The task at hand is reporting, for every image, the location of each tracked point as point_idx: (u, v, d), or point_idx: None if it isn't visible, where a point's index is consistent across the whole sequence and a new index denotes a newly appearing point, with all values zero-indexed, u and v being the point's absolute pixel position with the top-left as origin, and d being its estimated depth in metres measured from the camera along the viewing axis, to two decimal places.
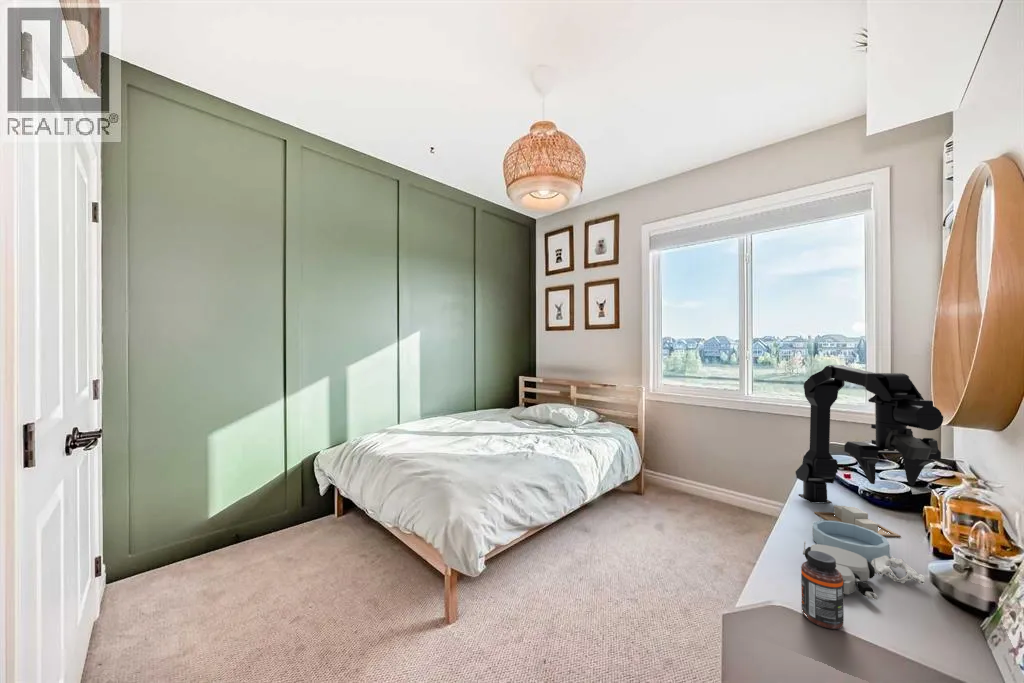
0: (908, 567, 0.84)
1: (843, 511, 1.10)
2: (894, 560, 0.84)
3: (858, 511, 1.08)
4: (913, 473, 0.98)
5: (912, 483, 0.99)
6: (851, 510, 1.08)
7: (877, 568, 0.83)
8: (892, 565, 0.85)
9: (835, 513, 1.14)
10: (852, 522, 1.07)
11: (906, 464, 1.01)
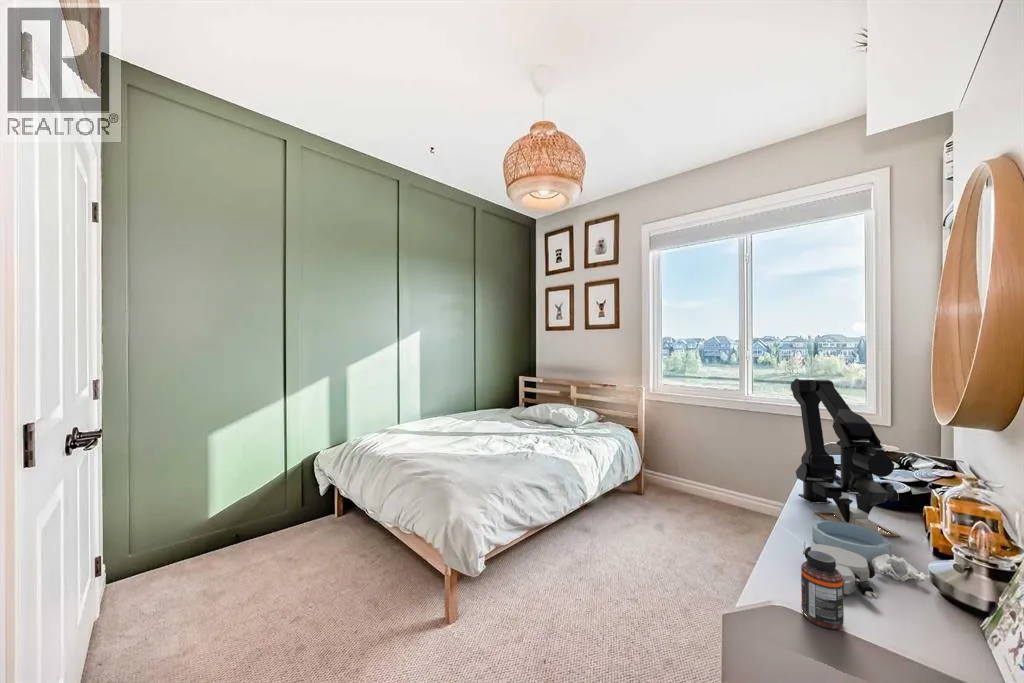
0: (909, 565, 0.85)
1: None
2: (895, 558, 0.84)
3: (858, 511, 1.08)
4: None
5: None
6: (851, 510, 1.08)
7: (878, 566, 0.84)
8: (893, 563, 0.86)
9: (835, 513, 1.14)
10: (852, 522, 1.07)
11: (858, 503, 1.10)
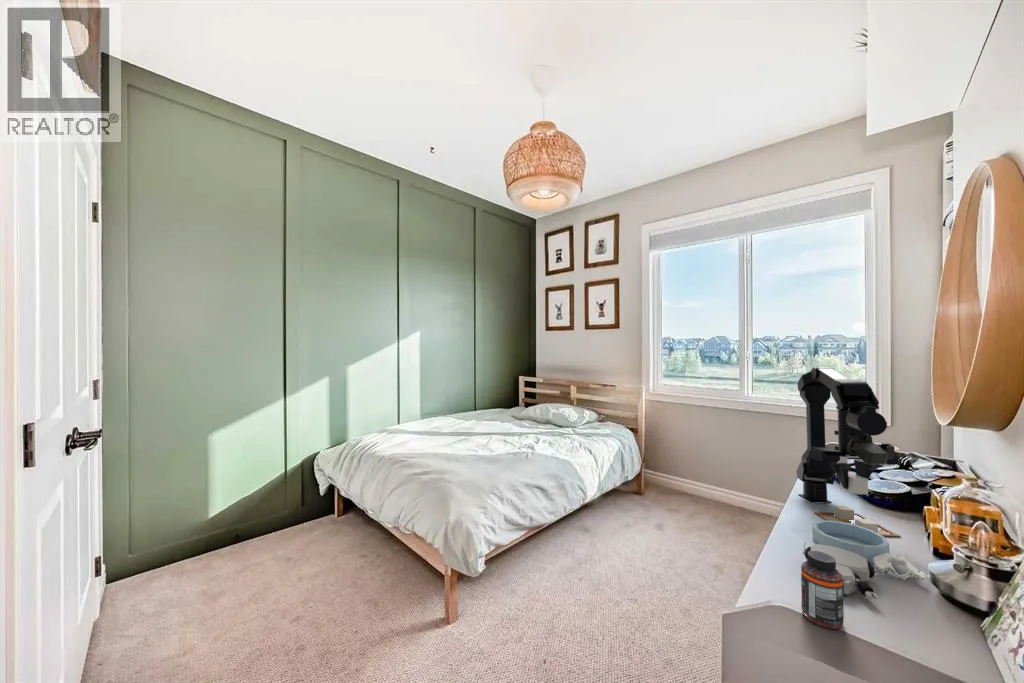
0: (909, 564, 0.85)
1: None
2: (895, 557, 0.85)
3: (857, 476, 1.02)
4: None
5: None
6: (850, 476, 1.02)
7: (878, 565, 0.85)
8: (893, 562, 0.86)
9: (835, 513, 1.14)
10: (851, 488, 1.01)
11: (857, 469, 1.04)
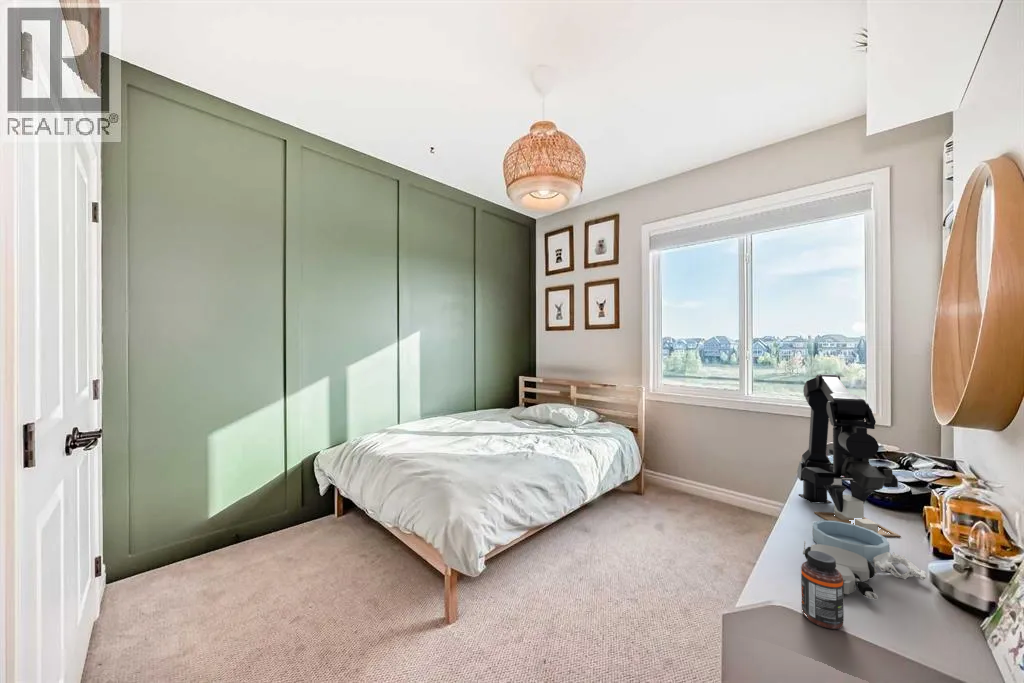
0: (910, 563, 0.86)
1: None
2: (896, 556, 0.85)
3: (853, 499, 0.96)
4: None
5: None
6: (845, 498, 0.96)
7: (879, 564, 0.85)
8: (894, 561, 0.86)
9: (835, 513, 1.14)
10: (846, 511, 0.95)
11: (853, 490, 0.98)
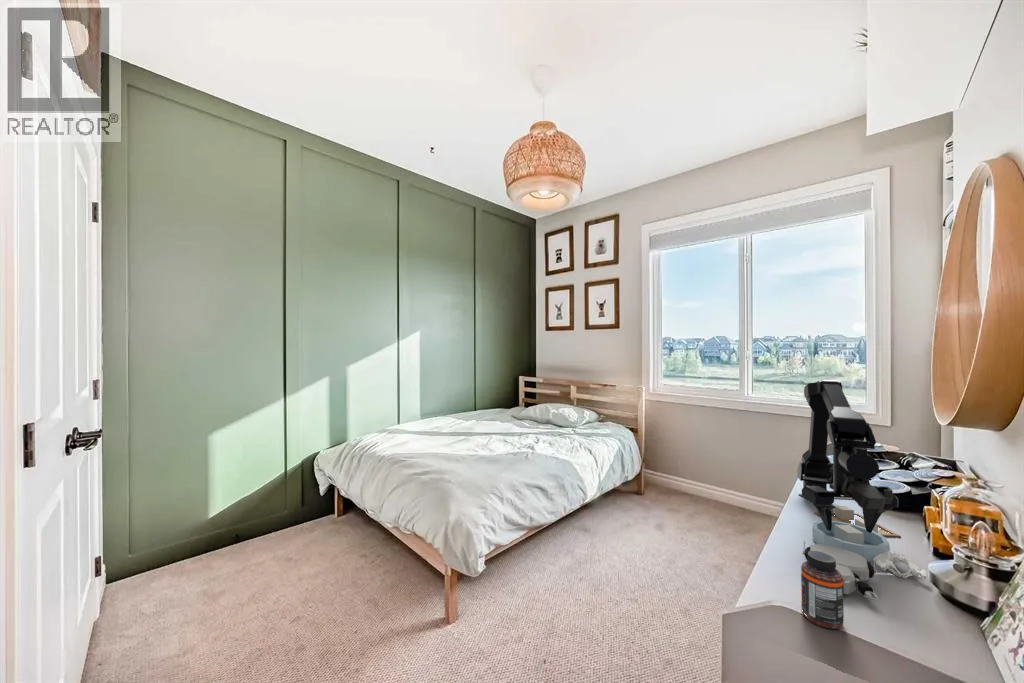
0: (911, 563, 0.86)
1: (836, 530, 0.98)
2: (897, 556, 0.85)
3: (853, 530, 0.96)
4: (871, 520, 0.96)
5: (870, 530, 0.96)
6: (845, 529, 0.96)
7: (880, 563, 0.85)
8: (895, 561, 0.87)
9: (835, 513, 1.14)
10: None
11: (864, 510, 0.98)
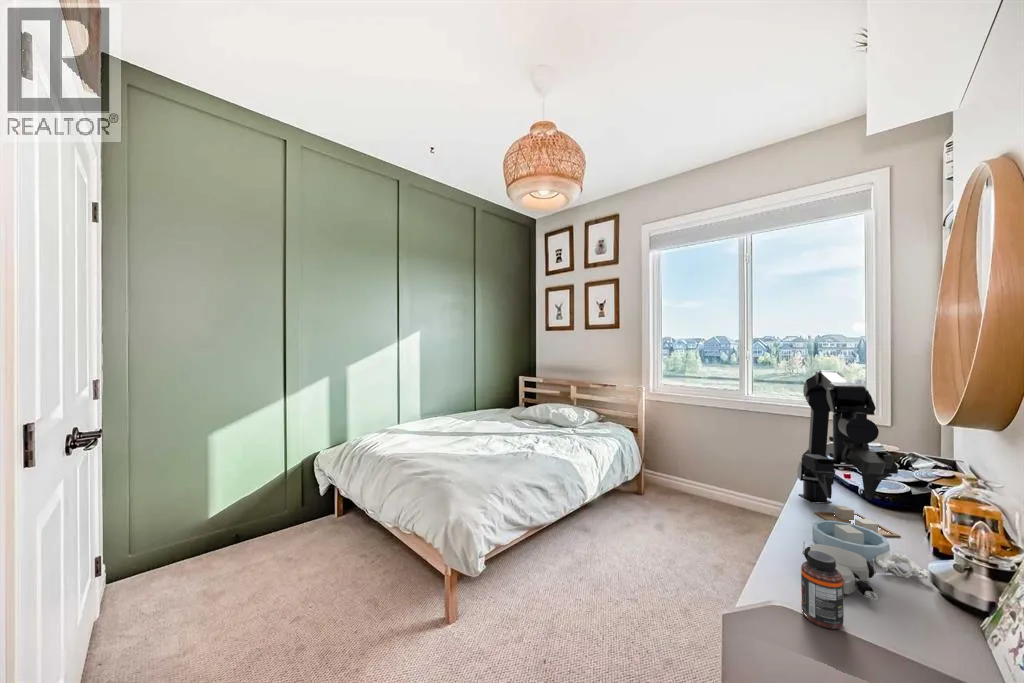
0: (912, 562, 0.86)
1: (836, 530, 0.98)
2: (898, 556, 0.85)
3: (853, 530, 0.96)
4: (870, 487, 0.96)
5: (869, 498, 0.96)
6: (845, 529, 0.96)
7: (882, 563, 0.85)
8: (896, 561, 0.87)
9: (835, 513, 1.14)
10: None
11: (864, 478, 0.98)
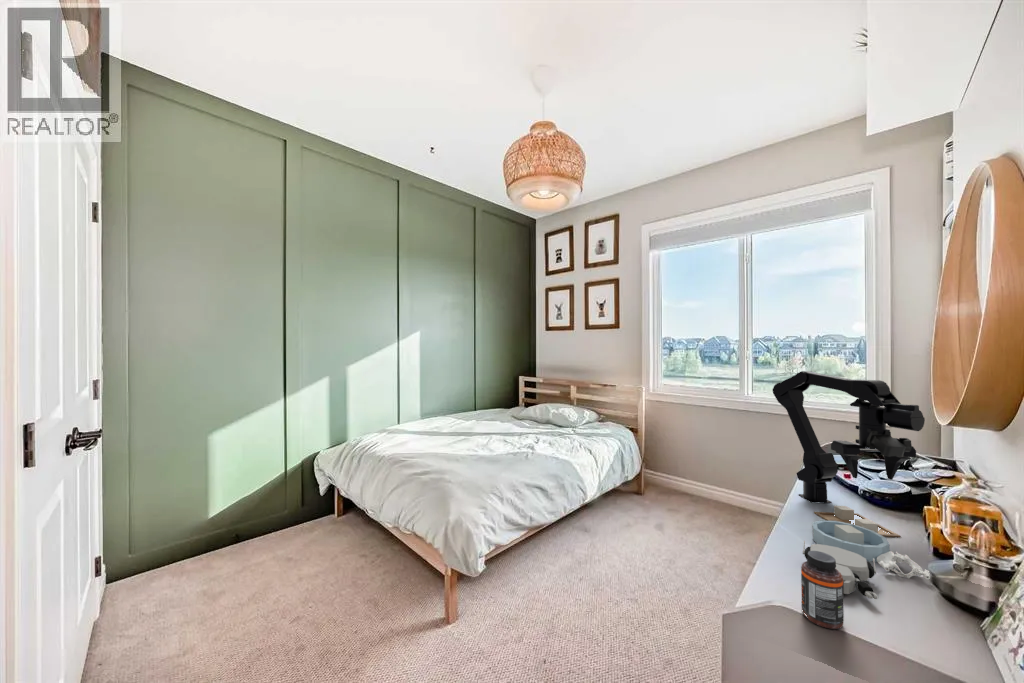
0: (913, 562, 0.86)
1: (836, 530, 0.98)
2: (900, 556, 0.85)
3: (853, 530, 0.96)
4: (892, 469, 1.11)
5: (891, 478, 1.11)
6: (845, 529, 0.96)
7: (883, 564, 0.85)
8: (897, 561, 0.87)
9: (835, 513, 1.14)
10: None
11: (886, 461, 1.13)
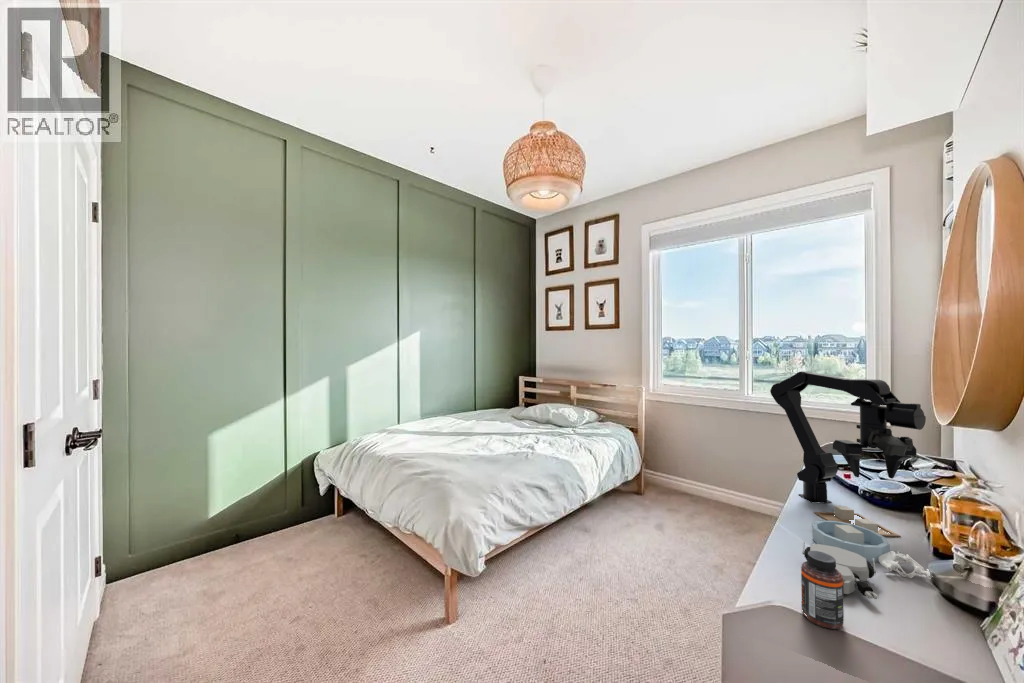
0: (914, 562, 0.86)
1: (836, 530, 0.98)
2: (901, 556, 0.85)
3: (853, 530, 0.96)
4: (892, 468, 1.12)
5: (892, 476, 1.12)
6: (845, 529, 0.96)
7: (886, 564, 0.85)
8: (899, 560, 0.87)
9: (835, 513, 1.14)
10: None
11: (887, 460, 1.14)
